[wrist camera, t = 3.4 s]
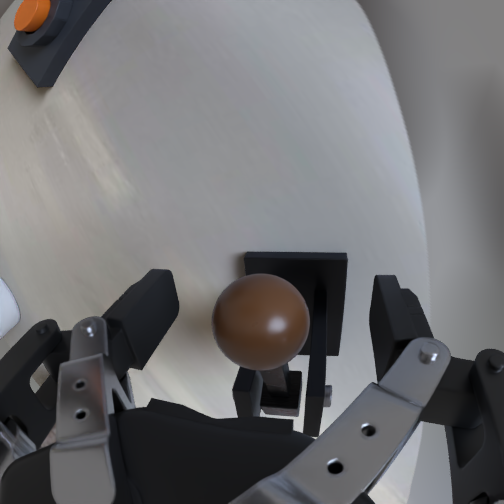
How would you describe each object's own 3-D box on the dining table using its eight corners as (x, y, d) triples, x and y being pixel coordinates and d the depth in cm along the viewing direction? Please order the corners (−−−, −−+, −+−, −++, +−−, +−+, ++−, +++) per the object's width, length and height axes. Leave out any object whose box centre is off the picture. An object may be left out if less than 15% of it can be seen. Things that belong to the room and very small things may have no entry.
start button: (42, -8, 14) (29, -10, 12) (56, 4, 15) (42, 1, 13) (23, 23, 16) (10, 22, 14) (35, 37, 16) (21, 36, 15)
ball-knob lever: (212, 252, 10) (187, 341, 8) (311, 253, 9) (305, 352, 7) (263, 375, 20) (256, 419, 18) (310, 377, 19) (305, 423, 17)
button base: (81, -41, 15) (56, -50, 11) (123, -14, 17) (96, -26, 13) (21, 48, 20) (-5, 48, 16) (52, 86, 22) (23, 88, 18)
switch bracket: (246, 251, 25) (195, 350, 15) (346, 252, 23) (361, 361, 13) (256, 344, 29) (224, 446, 19) (338, 347, 27) (336, 456, 17)
